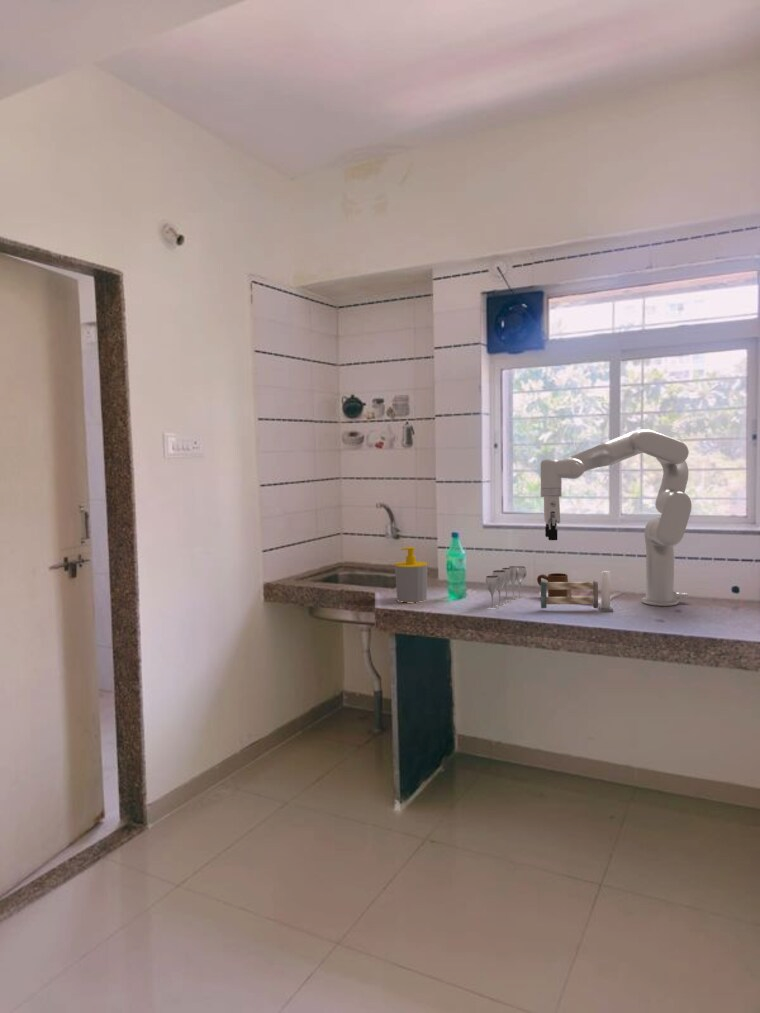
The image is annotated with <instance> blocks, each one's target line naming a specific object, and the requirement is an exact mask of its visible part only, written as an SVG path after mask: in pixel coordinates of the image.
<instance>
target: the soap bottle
mask: <svg viewBox="0 0 760 1013" xmlns="http://www.w3.org/2000/svg"><path fill="white" fill-rule="evenodd" d="M405 550H406V551H407V555H406V556H405V561H399V562H396V563H395V564H394V575H395V577H394V578H395V587H396V588H395V589H396V597H397V599H398V600H399V601H403V602H419V601H424V600H426V601H427V596H428V595H427V593H428V563H427V562H426V561H420V560H419V561H417V556H416V555H414V550H416V547H414V546H408V547H407V546H406V547H404V548H402V549H401V551H405ZM397 599H396V600H397Z"/></svg>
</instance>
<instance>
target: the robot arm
mask: <svg viewBox="0 0 760 1013" xmlns="http://www.w3.org/2000/svg"><path fill="white" fill-rule="evenodd" d="M688 448H689V447H688V446H687V444H686V443H684V442H683V441H681V440H680V439H676V438H674V437H670V436H668V435H665V434H663V433H659V432H656V431H654V430H651V429H645V428H643V429H636V430H632V431H630V432H628V433H626V434H623V435H621V436H618V437H615V438H613V439H611V440H608V441H606V442H604V443H601V444H598V445H595V446H593V447H591V448H588V449H585V450H583V451H580V452H578V453H576V454H574V455H570V456H568V457H566V458H564V459H555V458H552V459H543V460H541V462H540V498H543V516H544V517H543V518H544V522H545V526H544V527H545V528H544V529H545V530H544V531H545V532H544V534H545V537H546V538H547V539H548V540H547V541H558V524H561V510H560V509H561V508H560V498H561V497H562V486H563V485H562V482H563V481H562V479H571V480H574V479H579V478H581V476H583V475H584V473H585V472H587V471H591V470H593V469H596V468H601V467H602V468H603V467H607V466H612V465H615V464H617V463H620V462H622V461H624V460H628V459H629V458H632V457H635V456H637V455H639V454H646V455H649V456H651V457H653V458H655V459H656V460H657V462H659V463H660V465H661V467H662V471H663V472H662V473H663V474H662V479H661V484H660V487H659V490H658V493H657V496H656V499H655V509H656V510H657V512H659V514H661V515H660V517H655V518H652V519H651V520H649V521H648V522H647V523H646V525H645V527H644V530H643V531H644V542H645V552H646V553H645V554H646V555H645V556H646V557H645V558H646V559H645V564H646V566H645V572H646V574H645V576H646V577H645V578H646V579H645V585H646V586H645V590H646V591H645V596H644V597H641V602H642V603H644V604H646V605H650V606H659V607H667V606H670V607H671V606H677V605H678V604H679V599H688V598H689V595H688V592H681V591H680V592H678V591H676V590H675V580H674V579H675V577H674V576H675V573H674V572H675V553H674V552H675V551H674V547H675V546H677V545H678V544H680V542H682V540H683V538H684V535H685V532H686V528H687V526H688V522H689V519H690V516H691V513H692V501H691V500H692V499H691V497H690V496H689V495H688V494H687V493H686V489H687V484H688V480H689V466H688V462H686V460H687V459H688V457H689V449H688Z"/></svg>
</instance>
